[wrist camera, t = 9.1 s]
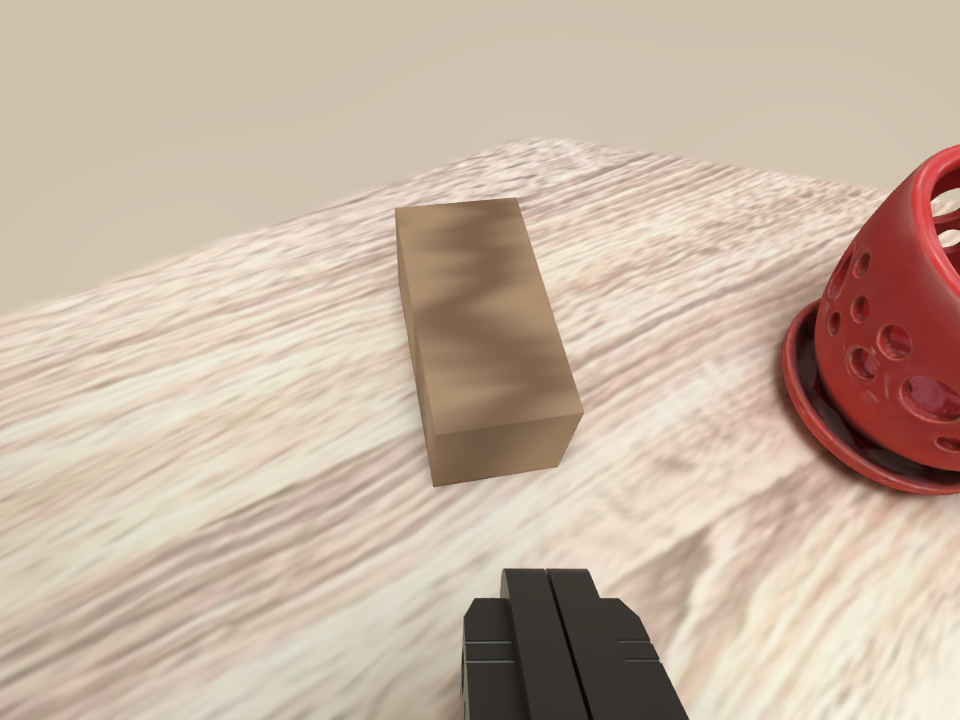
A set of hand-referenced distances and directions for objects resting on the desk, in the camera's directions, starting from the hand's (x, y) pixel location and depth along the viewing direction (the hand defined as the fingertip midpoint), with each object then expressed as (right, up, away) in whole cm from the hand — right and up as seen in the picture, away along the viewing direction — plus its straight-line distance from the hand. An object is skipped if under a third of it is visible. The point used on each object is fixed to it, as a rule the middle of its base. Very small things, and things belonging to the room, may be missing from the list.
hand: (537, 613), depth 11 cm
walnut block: (0, 0, +16) cm, 16 cm away
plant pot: (+20, +2, +22) cm, 30 cm away
